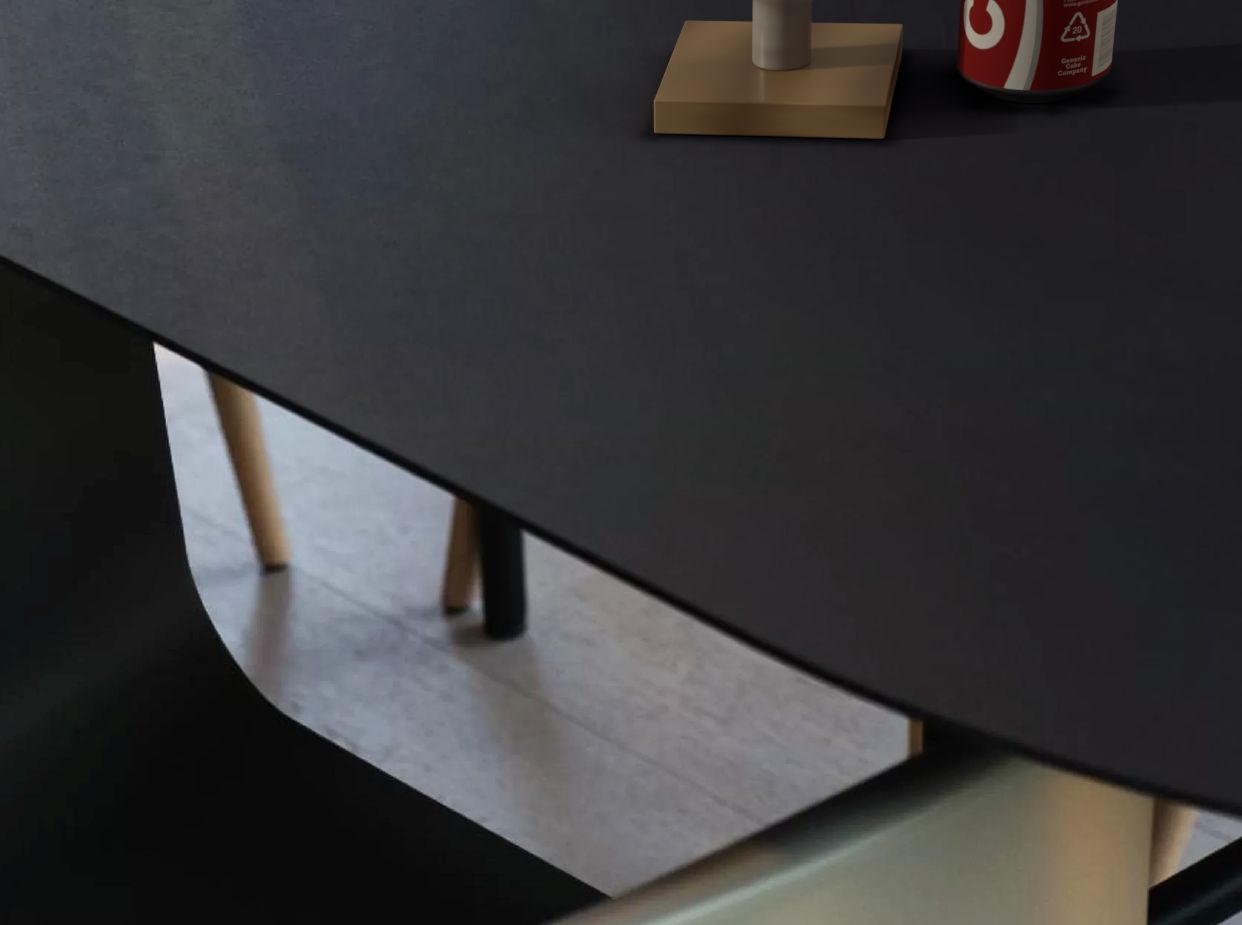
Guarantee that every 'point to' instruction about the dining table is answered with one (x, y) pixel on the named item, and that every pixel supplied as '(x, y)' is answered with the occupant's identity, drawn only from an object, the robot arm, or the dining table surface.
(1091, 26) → the soda can
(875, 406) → the dining table surface
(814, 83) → the wooden base plate
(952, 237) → the dining table surface
